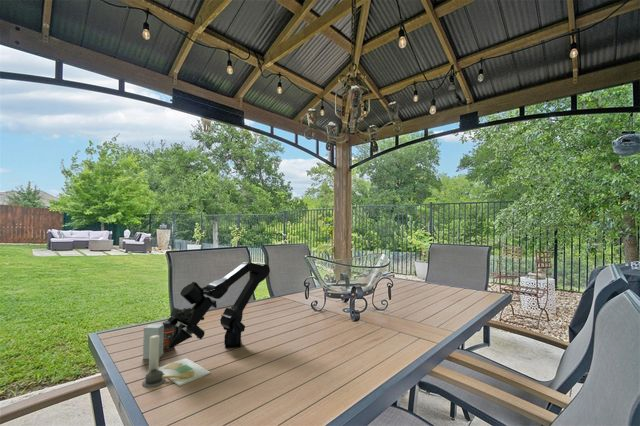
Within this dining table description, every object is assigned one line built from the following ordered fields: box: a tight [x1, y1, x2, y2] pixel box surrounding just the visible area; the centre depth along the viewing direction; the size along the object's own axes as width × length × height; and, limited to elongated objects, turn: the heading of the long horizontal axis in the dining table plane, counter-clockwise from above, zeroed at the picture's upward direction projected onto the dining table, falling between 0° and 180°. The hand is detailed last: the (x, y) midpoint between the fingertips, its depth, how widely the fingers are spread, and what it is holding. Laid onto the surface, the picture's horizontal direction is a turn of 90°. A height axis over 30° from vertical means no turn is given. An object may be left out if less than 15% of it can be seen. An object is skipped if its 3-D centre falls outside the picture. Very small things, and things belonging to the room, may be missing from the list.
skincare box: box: [142, 323, 164, 360], centre depth 117 cm, size 6×4×12 cm
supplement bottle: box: [162, 320, 175, 352], centre depth 125 cm, size 6×6×11 cm
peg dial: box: [144, 335, 190, 384], centre depth 101 cm, size 11×15×12 cm
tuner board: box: [141, 357, 211, 388], centre depth 103 cm, size 18×17×1 cm
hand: (169, 347), depth 108 cm, fingers closed
